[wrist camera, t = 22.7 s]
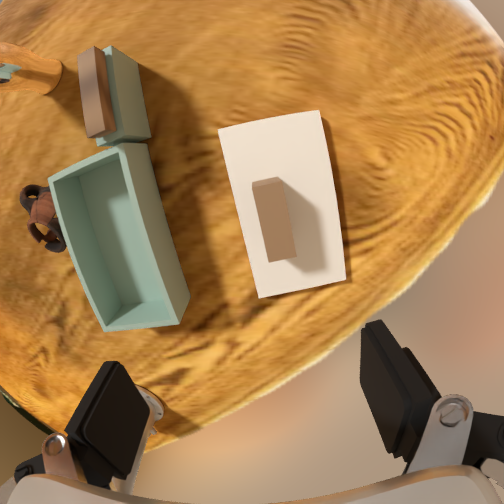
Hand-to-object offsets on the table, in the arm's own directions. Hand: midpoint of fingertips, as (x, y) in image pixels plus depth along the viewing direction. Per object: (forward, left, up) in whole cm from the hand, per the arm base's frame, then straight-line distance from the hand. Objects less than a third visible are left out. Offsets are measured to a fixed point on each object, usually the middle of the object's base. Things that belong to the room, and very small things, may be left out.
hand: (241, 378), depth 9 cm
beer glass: (+30, +26, -27) cm, 48 cm away
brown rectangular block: (+19, +12, -19) cm, 29 cm away
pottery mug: (+8, +28, -27) cm, 40 cm away
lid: (0, -5, -27) cm, 28 cm away
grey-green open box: (+7, +17, -27) cm, 32 cm away
